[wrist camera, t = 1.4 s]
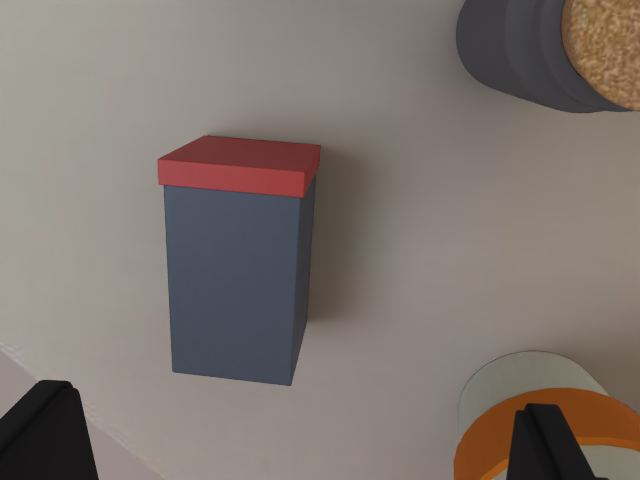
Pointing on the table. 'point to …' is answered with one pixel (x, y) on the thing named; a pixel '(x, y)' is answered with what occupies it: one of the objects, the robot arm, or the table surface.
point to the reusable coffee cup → (545, 388)
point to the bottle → (555, 51)
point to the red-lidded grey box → (238, 255)
